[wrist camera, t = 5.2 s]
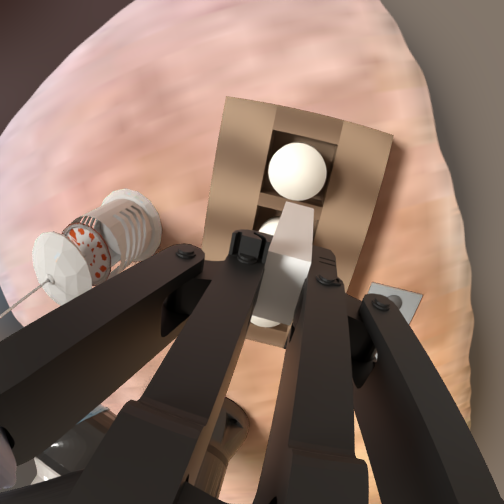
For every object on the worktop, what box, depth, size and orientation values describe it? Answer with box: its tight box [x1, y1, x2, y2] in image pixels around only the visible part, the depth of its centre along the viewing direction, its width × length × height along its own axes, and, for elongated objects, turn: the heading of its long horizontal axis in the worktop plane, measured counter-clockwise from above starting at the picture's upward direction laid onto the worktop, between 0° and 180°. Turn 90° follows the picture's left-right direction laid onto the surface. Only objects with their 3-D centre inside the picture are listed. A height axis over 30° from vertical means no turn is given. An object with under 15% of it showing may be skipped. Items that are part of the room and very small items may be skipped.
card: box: [368, 282, 423, 359], centre depth 37 cm, size 11×7×2 cm, turn 169°
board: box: [202, 96, 394, 348], centre depth 34 cm, size 26×16×4 cm, turn 169°
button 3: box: [268, 142, 327, 201], centre depth 28 cm, size 5×5×3 cm
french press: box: [0, 189, 162, 318], centre depth 28 cm, size 10×12×25 cm
